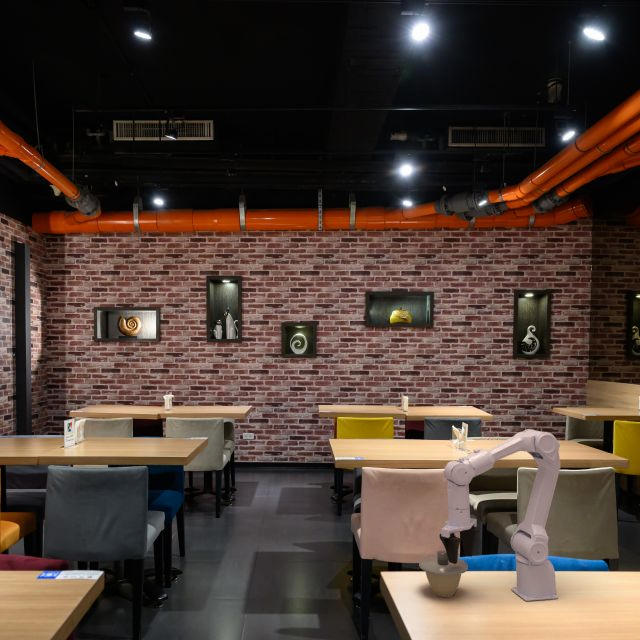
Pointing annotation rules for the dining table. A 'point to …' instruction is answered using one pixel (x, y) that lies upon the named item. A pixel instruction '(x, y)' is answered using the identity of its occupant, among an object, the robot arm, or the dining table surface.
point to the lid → (442, 565)
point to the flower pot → (443, 584)
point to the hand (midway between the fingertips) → (460, 559)
